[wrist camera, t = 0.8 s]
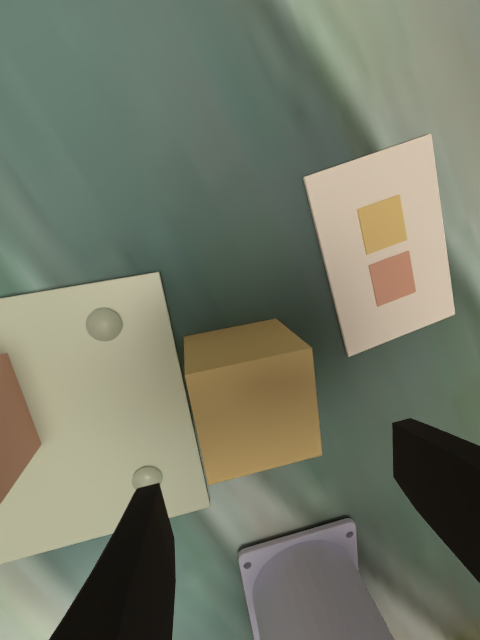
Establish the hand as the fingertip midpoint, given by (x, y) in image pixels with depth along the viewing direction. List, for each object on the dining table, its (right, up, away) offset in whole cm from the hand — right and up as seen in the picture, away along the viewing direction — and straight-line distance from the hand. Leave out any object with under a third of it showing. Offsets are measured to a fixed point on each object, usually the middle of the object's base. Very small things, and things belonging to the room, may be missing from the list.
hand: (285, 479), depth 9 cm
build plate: (-12, -1, +7) cm, 14 cm away
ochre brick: (-2, +2, +8) cm, 8 cm away
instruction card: (+7, +8, +8) cm, 13 cm away
